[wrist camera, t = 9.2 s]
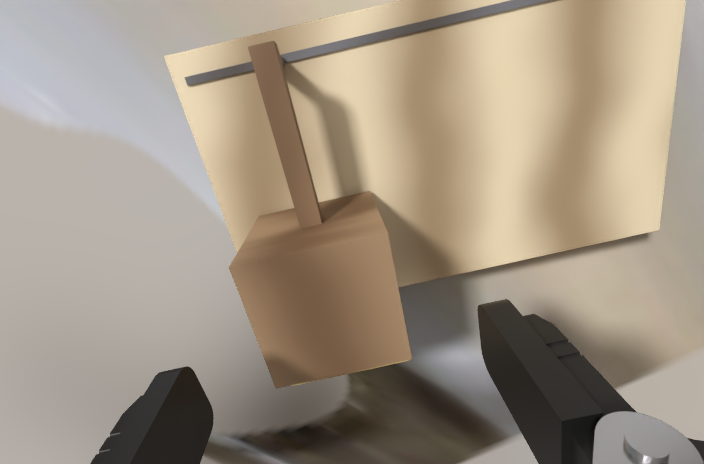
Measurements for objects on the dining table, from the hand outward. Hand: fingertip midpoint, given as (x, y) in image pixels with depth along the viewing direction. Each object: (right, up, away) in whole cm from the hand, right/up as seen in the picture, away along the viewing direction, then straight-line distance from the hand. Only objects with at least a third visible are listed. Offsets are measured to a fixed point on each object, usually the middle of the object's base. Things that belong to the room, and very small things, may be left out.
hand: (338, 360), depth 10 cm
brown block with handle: (-1, +5, +7) cm, 9 cm away
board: (+4, +8, +7) cm, 11 cm away
